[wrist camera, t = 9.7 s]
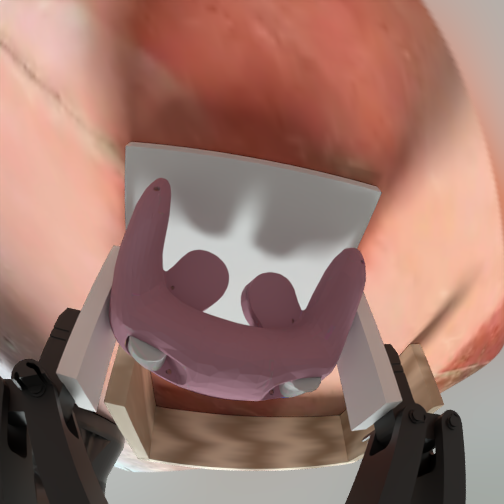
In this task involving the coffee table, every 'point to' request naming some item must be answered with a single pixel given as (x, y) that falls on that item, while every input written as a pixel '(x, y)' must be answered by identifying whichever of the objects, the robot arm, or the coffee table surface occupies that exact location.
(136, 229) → the video game controller
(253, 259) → the pad
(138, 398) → the bay
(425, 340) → the coffee table surface
